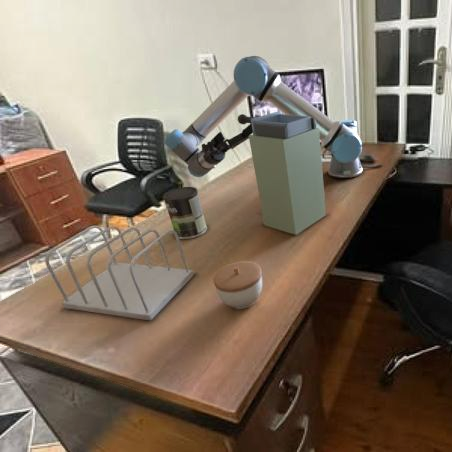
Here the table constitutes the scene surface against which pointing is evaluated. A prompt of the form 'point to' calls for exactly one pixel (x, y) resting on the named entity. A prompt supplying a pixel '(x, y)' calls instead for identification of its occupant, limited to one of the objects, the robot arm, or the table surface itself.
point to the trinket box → (239, 284)
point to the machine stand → (288, 177)
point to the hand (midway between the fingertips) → (238, 131)
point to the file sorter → (124, 280)
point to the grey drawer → (280, 122)
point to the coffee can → (185, 212)
